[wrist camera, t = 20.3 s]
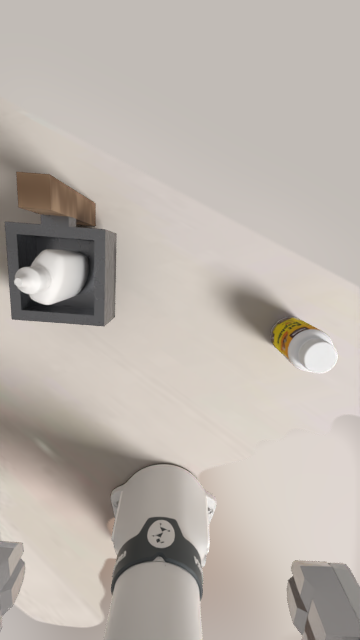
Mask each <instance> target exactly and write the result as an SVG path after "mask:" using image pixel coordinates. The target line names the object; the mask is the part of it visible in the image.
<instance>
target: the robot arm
mask: <svg viewBox="0 0 360 640" xmlns="http://www.w3.org/2000/svg"><path fill="white" fill-rule="evenodd" d="M111 503H112V507H113V512H114V516H115V522H114V527H113V532H112V541H113V542H114V548H115V551H116V554H117V560H116V564H115V566H114V570H113V576H112V577H113V580H112V585H111V592H112V601H111V606H110V610H109V616H108V620H107V625H106V630H105V635H104V640H203V636H202V624H201V610H200V601H201V598H202V593H203V589H202V584H203V572H202V567H204V566H205V563H206V554H208V552H209V546H210V537H209V524H210V521H211V519H212V516H213V514H214V511H215V508H216V498H215V496H213V495H212V494H211V493H209V492H208V491H206V490H205V489H204V488H203V487H202V485H201V484H200V482H199V481H198V480H197V478H196V477H195V476H194V475H193V474H191V473H190V472H188V471H187V470H185V469H183V468H181V467H178V466H174V465H168V464H159V465H152V466H148V467H146V468H143V469H141V470H140V471H138V472H137V473H135V474H134V475H133V476H132V477H131V478H130V479H129V480H128V482H126V483H125V484H124V485H122V486H119V487H117V488H115V489H114V490H113V491H112V493H111ZM23 552H24V548H23V543H20V542H7V541H0V631H1V629H2V616H3V615H4V614H5V613H6V612H7V611H8V610H9V609H10V608H11V607H12V606H13V604H14V602H15V600H16V598H17V596H18V594H19V591H20V588H21V585H22V582H23V579H24V574H25V563H24V561H23V560H22V559H21V556H22V554H23ZM291 571H292V574H293V577H291V578H290V579H289V580H288V585H287V601H288V605H289V611H290V615H291V618H292V621H293V624H294V625H295V626H296V628H297V629H298V631H299V632H300V633H301V634H302V640H360V587H359V585H358V583H357V581H356V579H355V577H354V575H353V574H352V572H351V570H350V568H349V567H348V566H347V565H346V564H343V563H327V562H320V561H318V562H317V561H298V560H295V561H294V562H293V563H292V567H291Z"/></svg>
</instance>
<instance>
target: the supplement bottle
mask: <svg viewBox="0 0 360 640" xmlns="http://www.w3.org/2000/svg"><path fill="white" fill-rule="evenodd" d="M271 341H272V343H273V345H274V346H275V347H276V348H277V349H278V350H279V351H280V352H281V353H282V354H283V355H284V356H285V357H286V358H287V359H288V360H289V361H290V362H291V363H292V364H293V365H294V366H295V367H296V368H298V369H300V370H302V371H307V372H313V373H325V372H327V371H329V370H330V369H332V368H333V367H334V365H335V364H336V362H337V358H338V354H337V351H336V349H335V347H334V346H333V342H332V340H331V338H330V337H329V336H328V335H327V334H326V333H324V332H323V331H321V330H319V329H317V328H315V327H313V326H311V325H310V324H308V323H306V322H304V321H302V320H300V319H298V318H295V317H286V318H283V319H281V320H279V321H278V322H277V323H276V324H275V325H274V326H273V328H272V331H271Z"/></svg>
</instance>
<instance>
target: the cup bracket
mask: <svg viewBox="0 0 360 640" xmlns="http://www.w3.org/2000/svg"><path fill="white" fill-rule="evenodd" d="M16 174H17V191H18V207H19V208H22V209H26V210H29V211H32V212H35V213H38V214H41V224H28V223H16V222H5V231H6V245H7V259H8V273H9V287H10V301H11V315H12V319H14V320H28V321H41V322H54V323H68V324H81V325H94V326H105V325H106V324H107V323H109V322H110V321H111V320H112V319H113V318H114V317H115V282H116V233H113V232H111V231H108V230H105V229H92V228H79V227H76V225H86V226H95V203H94V202H92V201H91V200H89V199H88V198H86V197H85V196H83V195H81V194H80V193H78V192H77V191H75V190H73V189H72V188H70V187H69V186H67V185H65V184H64V183H62V182H61V181H59V180H58V179H56V178H54V177H53V176H51V175H50V174H37V173H25V172H16ZM46 249H53V250H69V251H76V252H79V253H81V254H84V255H85V256H87V258H88V262H89V272H88V277H87V280H86V283H85V285H84V287H83V288H82V290H81V291H80V292H79V293H78V294H77V295H76V296H74V297H71V298H68V299H66V300H63V301H60V302H57V303H54V304H51V305H44V304H41V303H38V302H36V301H34V300H32V299H31V298H30V296H29V294H26V293H24V292H22V291H21V290H20V289H19V288H18V287H17V286H16V285H15V283H14V280H15V274H16V272H17V271H18V270H19V269H20V268H23V267H31V265H32V263H33V261H34V260H35V258H36V257H37V256H38V255H39V254H40V253H41V252H42V251H44V250H46Z"/></svg>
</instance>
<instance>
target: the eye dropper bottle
mask: <svg viewBox="0 0 360 640" xmlns="http://www.w3.org/2000/svg"><path fill="white" fill-rule="evenodd" d="M88 272H89V262H88V258H87V256H85V255H84V254H81V253H79V252H76V251H69V250H53V249H46V250H44V251H42V252H41V253H40V254H39V255H38V256H37V257H36V258H35V260H34V261H33V263H32V265H31V267H23V268H20V269H19V270H18V271H17V272H16V274H15V280H14V283H15V285H16V286H17V287H18V288H19V289H20V290H21V291H22V292H24V293H26V294H29V296H30V298H31V299H32V300H34V301H36V302H38V303H41V304H44V305H51V304H54V303H57V302H60V301H63V300H66V299H68V298H71V297H74V296H76V295H77V294H78V293H79V292H80V291H81V290H82V288H83V287H84V285H85V283H86V280H87V277H88Z"/></svg>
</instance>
